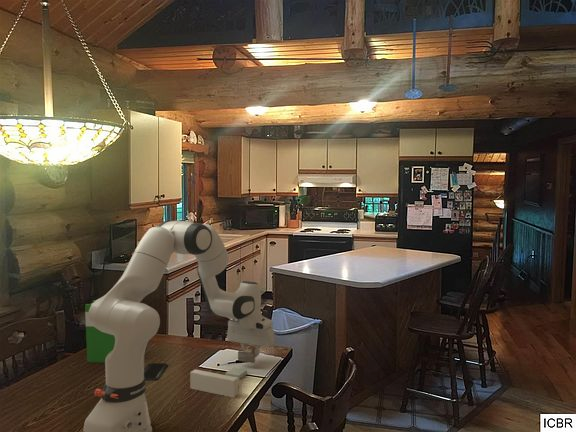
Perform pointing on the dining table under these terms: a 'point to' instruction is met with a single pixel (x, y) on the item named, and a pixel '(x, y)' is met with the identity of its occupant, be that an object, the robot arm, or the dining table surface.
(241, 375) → the tile
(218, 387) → the white rectangular block
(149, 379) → the phone
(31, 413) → the dining table surface
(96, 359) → the hardback book
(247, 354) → the pusher
